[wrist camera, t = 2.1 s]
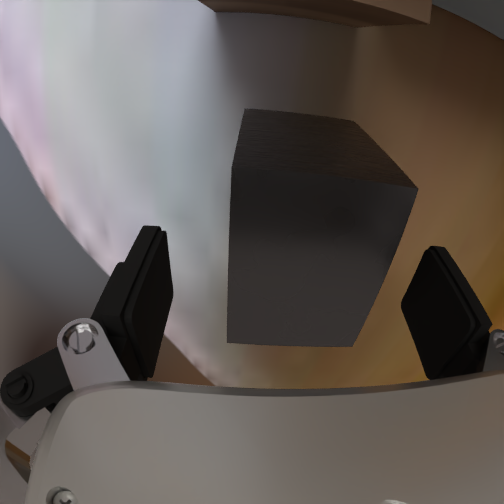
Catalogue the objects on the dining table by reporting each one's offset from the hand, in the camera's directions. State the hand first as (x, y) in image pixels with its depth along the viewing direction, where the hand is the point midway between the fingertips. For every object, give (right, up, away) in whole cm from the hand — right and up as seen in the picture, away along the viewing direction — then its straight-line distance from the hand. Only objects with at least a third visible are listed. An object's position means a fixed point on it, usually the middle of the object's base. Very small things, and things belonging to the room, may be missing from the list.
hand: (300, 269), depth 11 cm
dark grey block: (0, +4, +4) cm, 6 cm away
